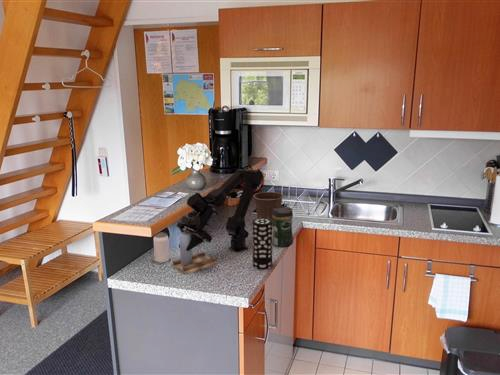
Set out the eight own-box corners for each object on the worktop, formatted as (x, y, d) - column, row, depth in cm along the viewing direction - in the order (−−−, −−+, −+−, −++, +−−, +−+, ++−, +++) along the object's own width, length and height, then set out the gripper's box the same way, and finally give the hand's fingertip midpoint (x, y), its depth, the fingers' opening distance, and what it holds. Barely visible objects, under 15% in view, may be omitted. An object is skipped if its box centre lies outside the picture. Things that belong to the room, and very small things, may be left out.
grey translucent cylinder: (191, 259, 183) (190, 231, 180) (192, 264, 178) (191, 235, 175) (180, 261, 182) (178, 232, 179) (181, 265, 177) (179, 236, 174)
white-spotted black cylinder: (248, 265, 182) (248, 221, 177) (262, 260, 187) (262, 217, 183) (262, 271, 176) (262, 225, 171) (276, 265, 182) (276, 221, 177)
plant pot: (272, 230, 226) (272, 201, 222) (248, 224, 235) (247, 196, 231) (288, 222, 238) (288, 194, 234) (264, 217, 248) (264, 190, 244)
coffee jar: (287, 240, 211) (288, 204, 206) (295, 245, 204) (295, 208, 199) (270, 243, 207) (270, 206, 203) (277, 248, 200) (277, 211, 196)
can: (163, 256, 193) (161, 231, 190) (172, 259, 189) (171, 234, 186) (151, 260, 188) (150, 235, 185) (161, 264, 184) (159, 238, 181)
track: (202, 256, 192) (202, 251, 191) (217, 263, 184) (216, 258, 183) (172, 266, 182) (171, 260, 181) (185, 274, 174) (185, 268, 173)
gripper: (178, 204, 184) (158, 234, 179) (205, 212, 171) (184, 245, 166) (194, 217, 191) (175, 246, 186) (220, 226, 178) (201, 258, 173)
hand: (183, 249), depth 177 cm, fingers closed on grey translucent cylinder, 5 cm apart
